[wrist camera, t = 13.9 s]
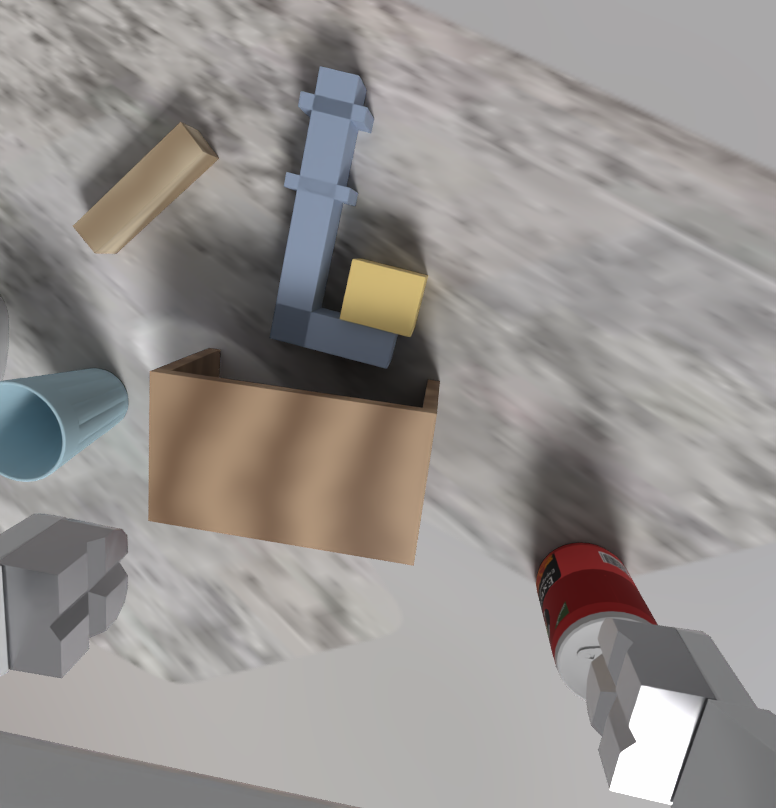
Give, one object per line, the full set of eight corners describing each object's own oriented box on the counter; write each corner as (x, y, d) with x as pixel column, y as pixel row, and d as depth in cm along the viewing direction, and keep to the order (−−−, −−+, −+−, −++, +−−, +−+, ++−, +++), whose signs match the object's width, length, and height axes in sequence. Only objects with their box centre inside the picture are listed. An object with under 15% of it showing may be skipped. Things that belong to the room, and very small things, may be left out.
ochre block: (428, 275, 45) (425, 277, 41) (414, 329, 47) (410, 337, 42) (362, 258, 46) (352, 258, 41) (349, 313, 47) (339, 319, 42)
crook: (453, 111, 42) (453, 98, 39) (391, 360, 47) (386, 368, 44) (317, 78, 42) (305, 62, 39) (271, 328, 48) (257, 334, 44)
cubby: (439, 381, 47) (436, 414, 38) (420, 505, 50) (413, 565, 41) (209, 347, 49) (149, 371, 39) (204, 471, 52) (148, 520, 42)
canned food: (530, 543, 50) (551, 620, 40) (624, 535, 49) (671, 612, 38) (538, 618, 52) (560, 711, 41) (628, 612, 51) (675, 706, 40)
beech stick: (220, 159, 45) (203, 151, 42) (118, 253, 48) (95, 253, 45) (199, 131, 45) (180, 121, 41) (97, 228, 47) (72, 226, 44)
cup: (155, 423, 51) (82, 464, 41) (85, 448, 53) (-2, 494, 43) (117, 344, 50) (32, 367, 40) (46, 373, 51) (-53, 401, 41)
